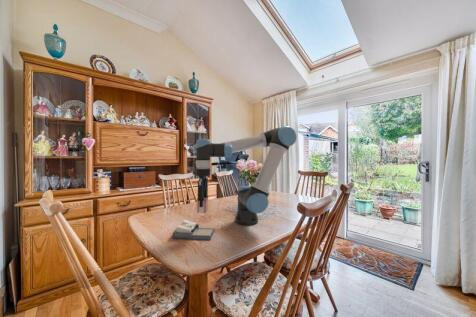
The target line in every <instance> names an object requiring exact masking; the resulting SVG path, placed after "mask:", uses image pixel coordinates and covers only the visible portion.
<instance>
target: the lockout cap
mask: <svg viewBox="0 0 476 317" xmlns="http://www.w3.org/2000/svg"><path fill="white" fill-rule="evenodd" d="M208 201H209V197H208V198H204V213H203V214H207V212H208V206H209V205H208ZM196 203H197V207H196V208H197V209H196V211H197V212H196V213H197V214H198V213H199V201H197V200H196ZM199 214H200V213H199Z"/></svg>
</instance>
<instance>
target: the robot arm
mask: <svg viewBox="0 0 476 317" xmlns="http://www.w3.org/2000/svg"><path fill="white" fill-rule="evenodd" d="M296 141H297V134H296V131H295V129H294V128H293V127H291V126H287V125H286V126H285V125H284V126H283V125H282V126H281V127H276V128H273V129H270V130H267V131H264V132H261V133H259V134H257V135H253V136H249V137H244V138H240V139H234V140H230V141H226V142H221V143H212V142H211V140H210V139H209V138H207V139H206V138H200V139H197V140H196V144H195V145H196V147H195V168H196V169H195V175H196V176H197V177H199V179H198V181H197V199H196V202H197V201H199V214H205V213H204V198H208V199H209V194H208V193H209V192H208V191H209V188H208V187H209V186H208V185H209V178H208V176H211V169H210V168H211V158H230V157H232V155H233V154H235V153H238V152H243V151H247V150H252V149H257V148H261V147H262V148H267V147H270V148H269V150H268V153H267V155H266V158H265V160H264V162H263V164H262V165H261V166H262V167H261V169H260V170H259V174H258V175H257V178H256V180H255V182H254V183H253V184H252V185H250V186H249V185H246V186H245V185H244V186H243V185H242V186H239V187H238V188H237V211H236V214H235V216H234V223H236V224H237V225H241V226H254V225H257V224H258V223H259V216H258V214H261V213H263V212H265V211H266V209H267V208H268V206H269V199H268V197H269V196H270V192H269V190H270V186H271V185H272V184H271V183H272V182H273V179H274V177H275V175H276V172H277V170H278V168H279V165H280V163H281V161H282V158H283V156H284V154H286V153H288V151H289V149H290V147H291V146H293V145H294V144H296Z"/></svg>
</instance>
